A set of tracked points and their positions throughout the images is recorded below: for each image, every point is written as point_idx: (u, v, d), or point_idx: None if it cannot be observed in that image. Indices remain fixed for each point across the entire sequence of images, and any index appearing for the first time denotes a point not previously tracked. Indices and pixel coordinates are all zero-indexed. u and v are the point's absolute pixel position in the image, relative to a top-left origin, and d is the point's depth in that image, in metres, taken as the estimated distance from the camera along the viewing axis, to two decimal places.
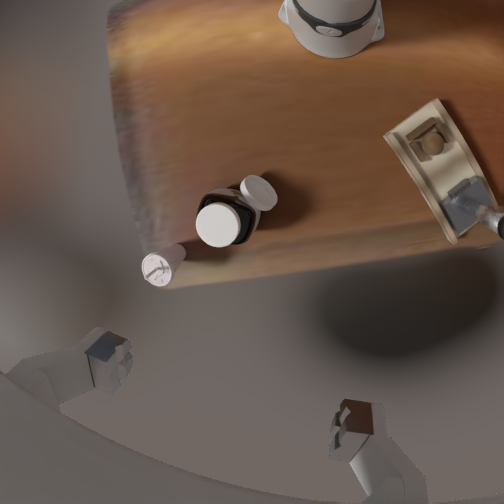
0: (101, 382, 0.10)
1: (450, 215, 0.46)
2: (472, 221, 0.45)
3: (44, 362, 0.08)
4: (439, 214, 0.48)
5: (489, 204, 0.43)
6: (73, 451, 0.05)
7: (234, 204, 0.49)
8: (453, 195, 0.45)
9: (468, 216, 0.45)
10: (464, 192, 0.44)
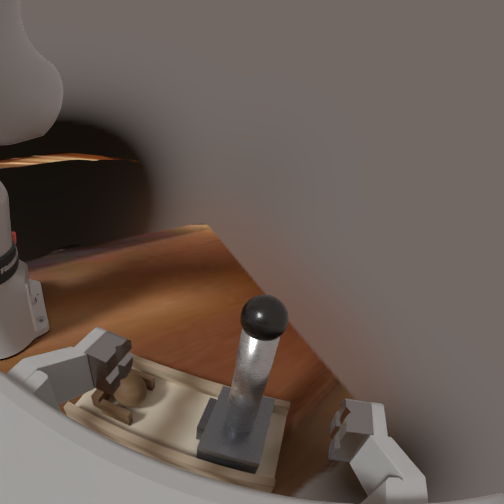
0: (101, 382, 0.10)
1: (219, 451, 0.25)
2: (263, 435, 0.28)
3: (44, 362, 0.08)
4: (205, 467, 0.24)
5: (266, 402, 0.32)
6: (73, 451, 0.05)
7: None
8: (200, 425, 0.28)
9: (249, 434, 0.28)
10: (214, 413, 0.29)
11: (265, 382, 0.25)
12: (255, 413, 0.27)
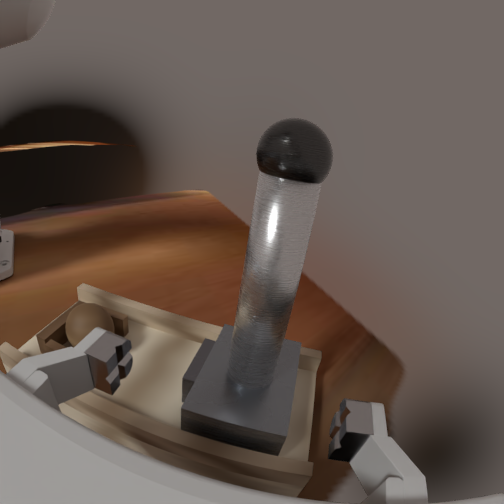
0: (101, 382, 0.10)
1: (217, 416, 0.16)
2: (288, 392, 0.18)
3: (44, 362, 0.08)
4: (195, 444, 0.15)
5: (289, 346, 0.23)
6: (73, 451, 0.05)
7: None
8: (187, 376, 0.18)
9: (267, 390, 0.18)
10: (211, 359, 0.20)
11: (296, 281, 0.16)
12: (277, 348, 0.17)
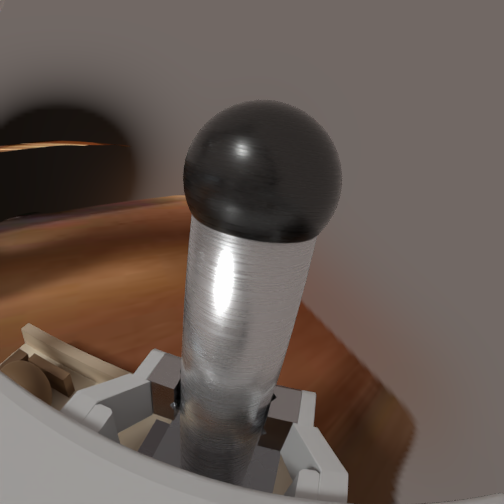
0: (163, 408, 0.10)
1: None
2: None
3: (103, 394, 0.08)
4: None
5: None
6: (73, 451, 0.05)
7: None
8: None
9: None
10: (160, 453, 0.13)
11: (268, 398, 0.09)
12: (243, 466, 0.10)
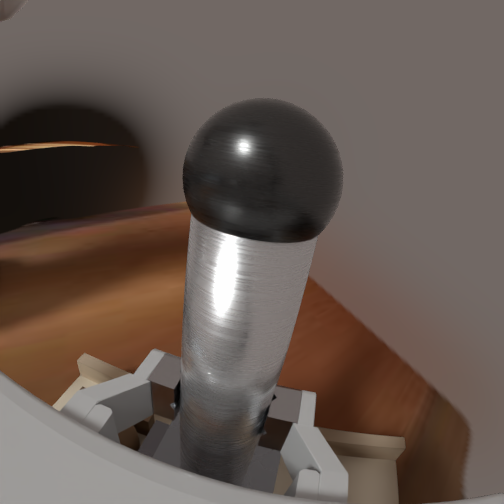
0: (163, 408, 0.10)
1: None
2: None
3: (103, 394, 0.08)
4: None
5: None
6: (73, 451, 0.05)
7: None
8: None
9: None
10: (160, 454, 0.13)
11: (268, 399, 0.09)
12: (244, 467, 0.10)
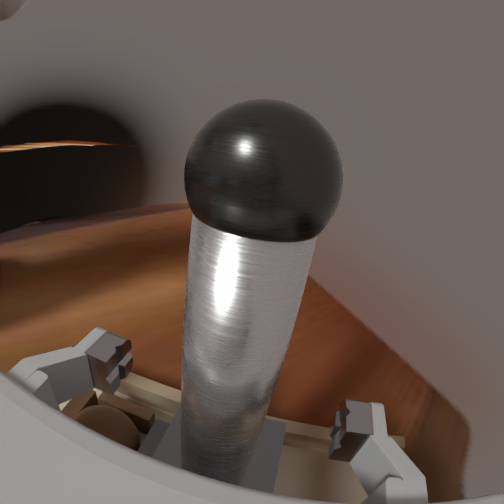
0: (101, 382, 0.10)
1: None
2: None
3: (44, 362, 0.08)
4: None
5: (269, 429, 0.15)
6: (73, 451, 0.05)
7: None
8: None
9: None
10: (161, 452, 0.13)
11: (268, 397, 0.09)
12: (244, 466, 0.10)
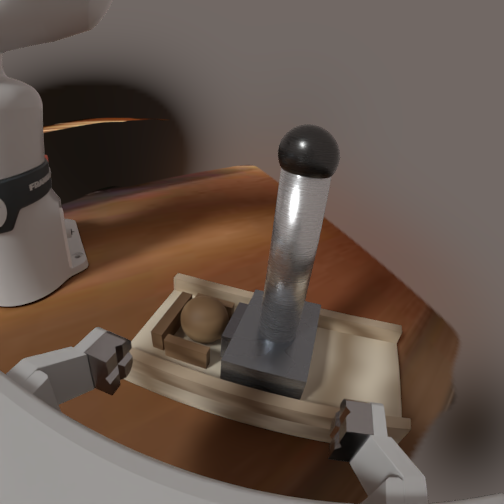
0: (101, 382, 0.10)
1: (251, 366, 0.21)
2: (309, 346, 0.23)
3: (44, 362, 0.08)
4: (323, 413, 0.19)
5: (310, 307, 0.27)
6: (73, 451, 0.05)
7: None
8: (226, 334, 0.23)
9: (291, 344, 0.23)
10: (245, 319, 0.25)
11: (313, 254, 0.20)
12: (299, 309, 0.22)
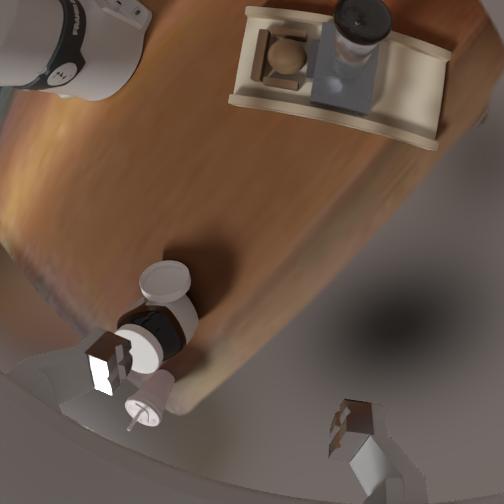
0: (101, 382, 0.10)
1: (330, 102, 0.28)
2: (371, 80, 0.26)
3: (44, 362, 0.08)
4: (380, 130, 0.29)
5: None
6: (73, 451, 0.05)
7: (137, 317, 0.37)
8: (308, 75, 0.27)
9: (358, 79, 0.26)
10: (319, 57, 0.26)
11: (369, 55, 0.19)
12: (361, 68, 0.24)
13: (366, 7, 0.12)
